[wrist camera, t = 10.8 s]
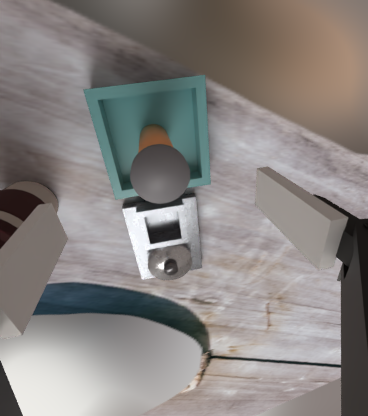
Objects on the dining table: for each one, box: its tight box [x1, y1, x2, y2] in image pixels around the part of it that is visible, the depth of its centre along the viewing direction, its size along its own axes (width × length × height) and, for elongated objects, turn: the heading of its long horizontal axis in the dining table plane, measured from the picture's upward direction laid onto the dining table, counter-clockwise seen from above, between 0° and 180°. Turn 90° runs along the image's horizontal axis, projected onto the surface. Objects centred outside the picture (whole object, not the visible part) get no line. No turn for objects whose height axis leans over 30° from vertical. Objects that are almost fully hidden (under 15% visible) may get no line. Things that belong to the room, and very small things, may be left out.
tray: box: [84, 75, 211, 200], centre depth 31 cm, size 14×14×4 cm
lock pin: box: [130, 124, 190, 204], centre depth 25 cm, size 5×5×15 cm
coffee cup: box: [0, 181, 58, 249], centre depth 28 cm, size 10×10×15 cm
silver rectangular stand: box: [122, 193, 202, 280], centre depth 39 cm, size 12×17×5 cm
